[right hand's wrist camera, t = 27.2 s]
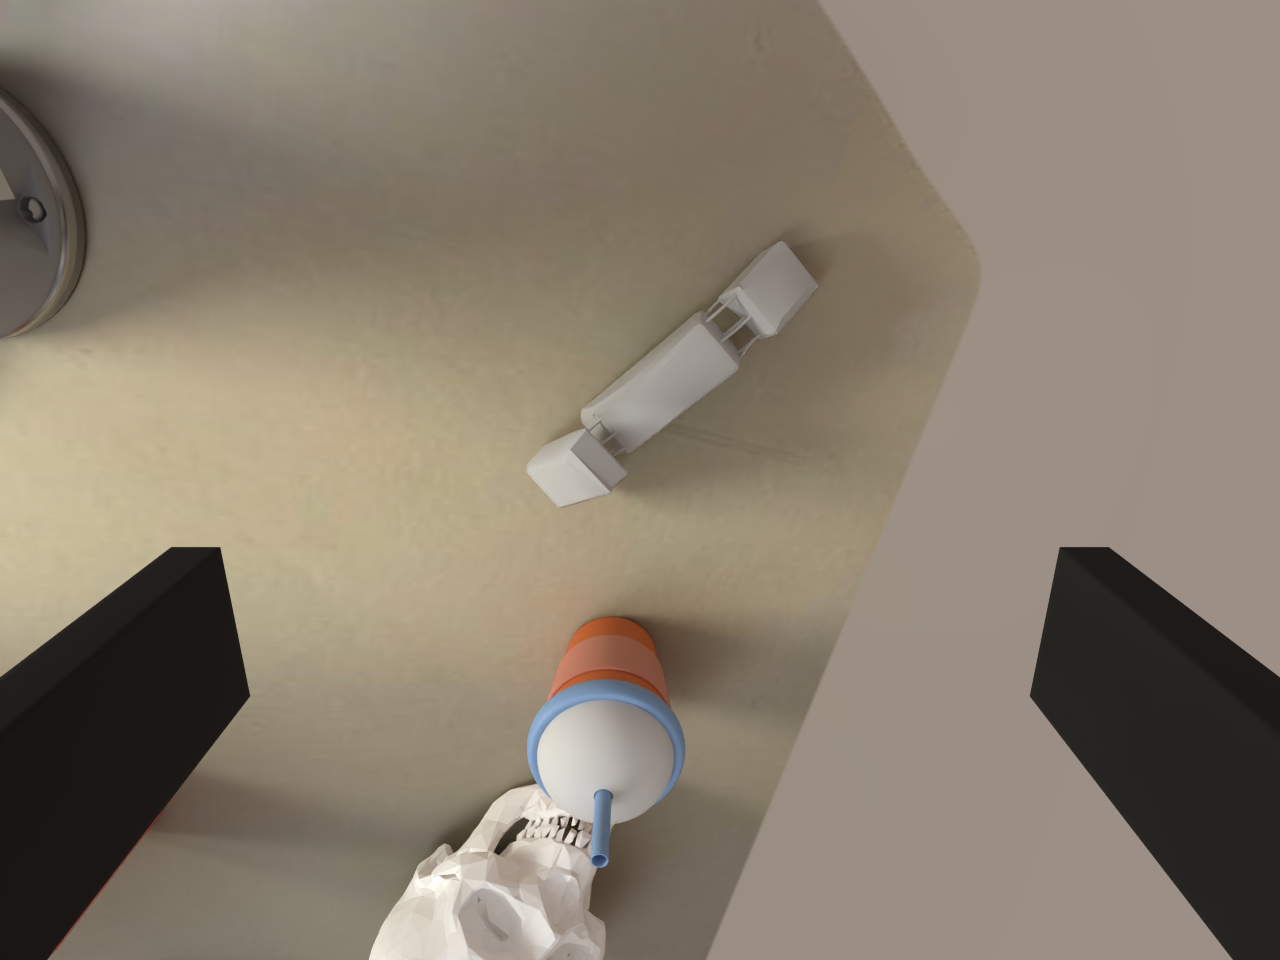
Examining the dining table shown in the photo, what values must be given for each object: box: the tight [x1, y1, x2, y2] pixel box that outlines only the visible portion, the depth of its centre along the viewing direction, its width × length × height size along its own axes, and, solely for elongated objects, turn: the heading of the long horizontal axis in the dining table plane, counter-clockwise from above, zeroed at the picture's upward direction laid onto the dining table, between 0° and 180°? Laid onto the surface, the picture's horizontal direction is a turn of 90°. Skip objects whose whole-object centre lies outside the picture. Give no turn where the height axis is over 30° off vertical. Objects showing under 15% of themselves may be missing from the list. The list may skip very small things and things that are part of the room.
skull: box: [369, 784, 614, 960], centre depth 54 cm, size 13×22×16 cm, turn 143°
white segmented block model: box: [527, 241, 818, 508], centre depth 45 cm, size 20×4×7 cm, turn 132°
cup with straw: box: [527, 617, 685, 868], centre depth 46 cm, size 9×9×18 cm
